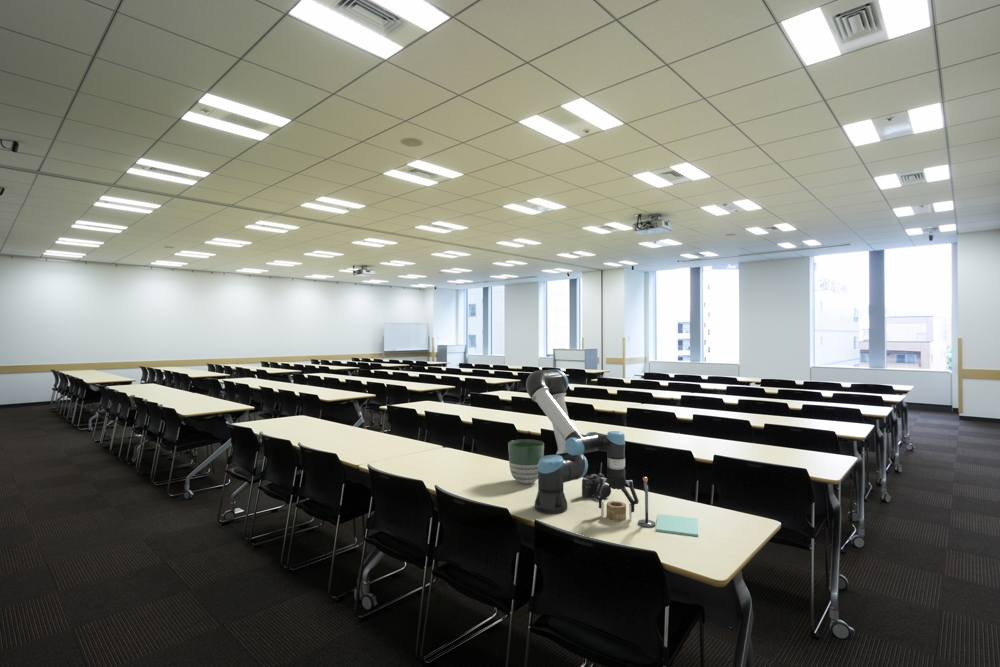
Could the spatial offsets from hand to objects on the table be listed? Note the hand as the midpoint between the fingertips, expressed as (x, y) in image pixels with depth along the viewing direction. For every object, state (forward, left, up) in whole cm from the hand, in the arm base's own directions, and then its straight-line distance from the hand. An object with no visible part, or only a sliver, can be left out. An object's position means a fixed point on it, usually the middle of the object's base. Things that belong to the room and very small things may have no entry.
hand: (616, 517), depth 214 cm
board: (+25, 0, 0) cm, 25 cm away
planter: (-53, +36, 0) cm, 64 cm away
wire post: (+13, -5, 0) cm, 14 cm away
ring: (0, 0, 0) cm, 0 cm away
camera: (-13, +26, -1) cm, 29 cm away
